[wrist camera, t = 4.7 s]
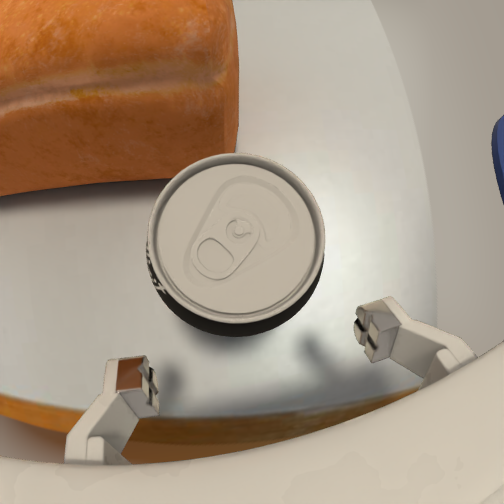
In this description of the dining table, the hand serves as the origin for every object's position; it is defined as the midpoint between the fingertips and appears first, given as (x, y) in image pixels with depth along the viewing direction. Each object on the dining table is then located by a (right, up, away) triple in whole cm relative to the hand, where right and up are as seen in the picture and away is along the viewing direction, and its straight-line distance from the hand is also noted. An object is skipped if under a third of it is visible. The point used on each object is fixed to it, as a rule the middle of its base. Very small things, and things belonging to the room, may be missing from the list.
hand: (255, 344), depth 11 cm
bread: (-15, +15, +13) cm, 24 cm away
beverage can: (-2, +1, +10) cm, 11 cm away
